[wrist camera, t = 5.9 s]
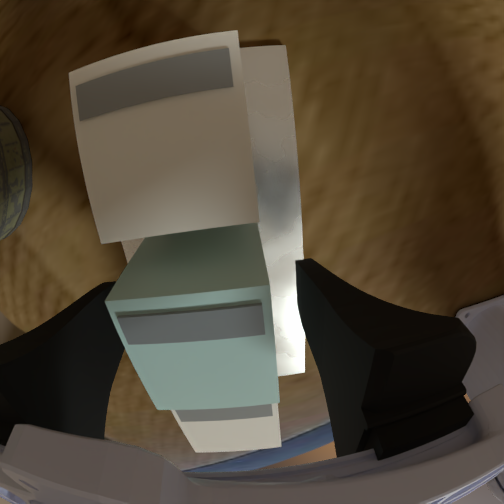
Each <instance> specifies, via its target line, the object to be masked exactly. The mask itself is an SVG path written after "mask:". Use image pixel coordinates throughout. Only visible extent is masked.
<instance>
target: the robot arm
mask: <svg viewBox="0 0 504 504" xmlns="http://www.w3.org/2000/svg"><path fill="white" fill-rule="evenodd" d="M295 266H296V289H297V306H298V311H299V315H300V320H301V324H302V327H303V330H304V333H305V335H306V338H307V341H308V343H309V346H310V349H311V351H312V354H313V356H314V359H315V362H316V365H317V367H318V370H319V373H320V377H321V380H322V385H323V389H324V393H325V397H326V402H327V407H328V411H329V416H330V421H331V426H332V432H333V437H334V443H335V449H336V455H337V458H333V459H329V460H324V461H319V462H314V463H308V464H302V465H296V466H288V467H281V468H273V469H263V470H252V471H237V472H182V471H181V470H180V469H179V468H178V467H177V466H176V465H174V464H173V463H171V462H170V461H169V460H167V459H166V458H164V457H163V456H162V455H159V454H156V453H153V452H151V451H148V450H146V449H143V448H141V447H138V446H134V445H129V444H124V443H120V442H116V441H110V440H104V432H105V422H106V414H107V407H108V402H109V396H110V391H111V387H112V384H113V381H114V378H115V375H116V372H117V369H118V366H119V363H120V360H121V358H122V355H123V352H124V349H125V347H124V345H123V343H122V341H121V339H120V336H119V334H118V332H117V330H116V327H115V325H114V323H113V320H112V318H111V316H110V313H109V311H108V309H107V306H106V304H105V300H106V298H107V296H108V295H109V293H110V291H111V290H112V288H113V286H114V285H115V283H116V281H114V282H104V283H102V284H100V285H98V286H97V287H95V288H93V289H92V290H90V291H89V292H88V293H86V294H85V295H83V296H82V297H81V298H79V299H78V300H76V301H75V302H74V303H72V304H71V305H70V306H68V307H67V308H65V309H64V310H62V311H61V312H60V313H58V314H57V315H55V316H54V317H52V318H51V319H49V320H48V321H46V322H45V323H43V324H42V325H40V326H38V327H36V328H35V329H33V330H31V331H29V332H27V333H25V334H23V335H21V336H19V337H17V338H15V339H13V340H11V341H8V342H6V343H3V344H1V345H0V497H1V498H3V499H5V500H7V501H9V502H10V503H12V504H451V503H453V502H455V501H457V500H458V499H460V498H462V497H464V496H465V495H467V494H469V493H470V492H472V491H474V490H476V489H477V488H479V487H480V486H482V485H484V484H485V483H486V484H487V486H488V488H489V490H490V491H491V493H492V494H493V495H494V496H495V497H496V498H497V499H498V500H500V501H501V502H502V503H503V504H504V295H502V296H500V297H497V298H494V299H491V300H488V301H485V302H482V303H479V304H476V305H473V306H470V307H467V308H463V309H461V310H459V311H458V313H457V314H456V317H448V316H441V315H433V314H428V313H423V312H419V311H414V310H411V309H407V308H403V307H400V306H397V305H394V304H391V303H388V302H386V301H383V300H381V299H378V298H376V297H374V296H372V295H369V294H367V293H365V292H363V291H361V290H359V289H357V288H356V287H354V286H352V285H350V284H349V283H347V282H345V281H344V280H342V279H340V278H339V277H337V276H336V275H334V274H333V273H331V272H330V271H329V270H327V269H326V268H324V267H323V266H321V265H320V264H319V263H317V262H316V261H314V260H313V259H311V258H310V259H302V260H295ZM466 393H467V395H468V397H469V398H470V400H471V401H470V402H469V403H468V402H467V401H466V399H465V397H464V395H465V394H466Z"/></svg>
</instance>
